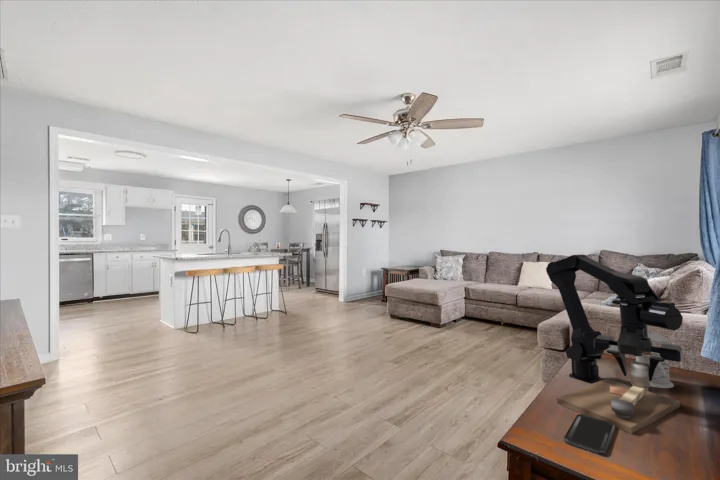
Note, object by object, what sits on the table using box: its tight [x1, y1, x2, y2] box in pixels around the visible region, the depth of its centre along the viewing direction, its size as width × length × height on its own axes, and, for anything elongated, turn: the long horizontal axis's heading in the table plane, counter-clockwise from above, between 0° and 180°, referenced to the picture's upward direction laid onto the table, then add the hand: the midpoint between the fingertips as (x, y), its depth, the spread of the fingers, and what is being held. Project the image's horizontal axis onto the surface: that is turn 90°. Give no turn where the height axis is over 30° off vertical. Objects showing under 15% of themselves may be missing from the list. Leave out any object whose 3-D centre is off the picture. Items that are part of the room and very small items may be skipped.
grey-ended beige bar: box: [611, 360, 651, 416], centre depth 87 cm, size 20×4×8 cm, turn 127°
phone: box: [563, 413, 616, 457], centre depth 78 cm, size 8×1×15 cm
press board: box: [556, 378, 681, 435], centre depth 91 cm, size 18×25×2 cm
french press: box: [635, 325, 678, 389], centre depth 105 cm, size 10×12×25 cm
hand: (637, 378), depth 93 cm, fingers open, 5 cm apart
